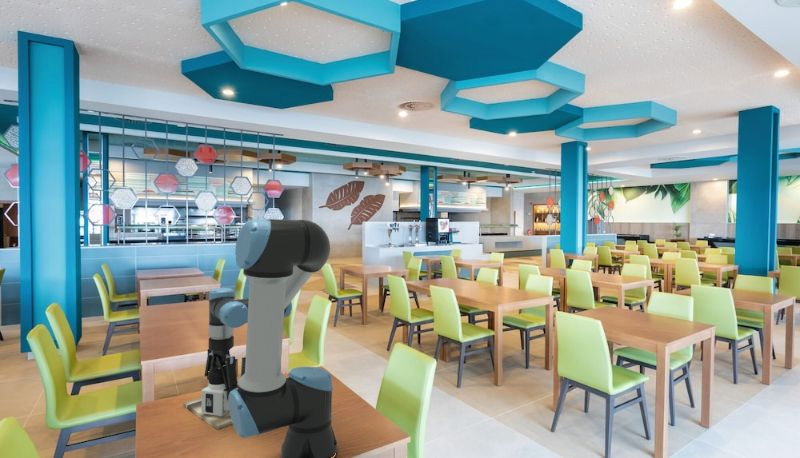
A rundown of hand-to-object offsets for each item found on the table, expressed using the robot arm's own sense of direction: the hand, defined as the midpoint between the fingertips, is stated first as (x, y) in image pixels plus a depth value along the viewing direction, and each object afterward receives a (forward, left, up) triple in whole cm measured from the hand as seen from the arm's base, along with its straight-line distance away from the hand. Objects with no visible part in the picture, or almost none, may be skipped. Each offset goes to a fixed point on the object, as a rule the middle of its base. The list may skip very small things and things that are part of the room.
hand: (220, 403), depth 135 cm
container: (0, 0, -2) cm, 2 cm away
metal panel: (+3, 0, -4) cm, 5 cm away
